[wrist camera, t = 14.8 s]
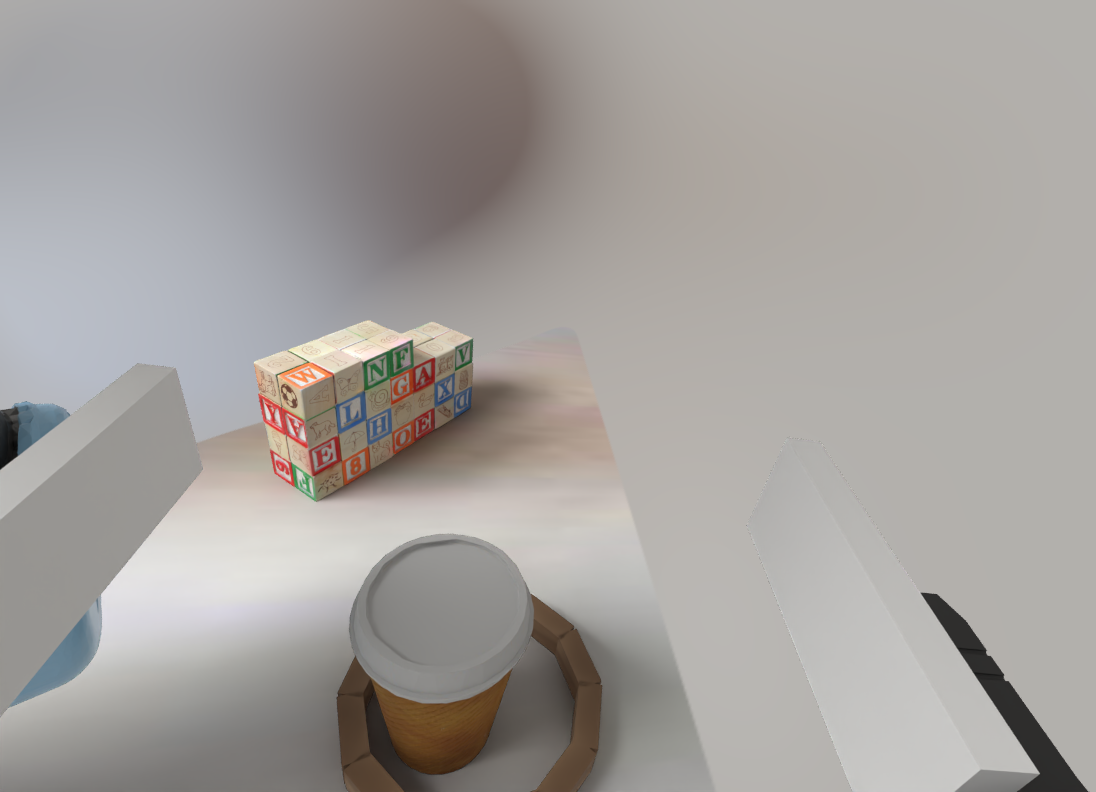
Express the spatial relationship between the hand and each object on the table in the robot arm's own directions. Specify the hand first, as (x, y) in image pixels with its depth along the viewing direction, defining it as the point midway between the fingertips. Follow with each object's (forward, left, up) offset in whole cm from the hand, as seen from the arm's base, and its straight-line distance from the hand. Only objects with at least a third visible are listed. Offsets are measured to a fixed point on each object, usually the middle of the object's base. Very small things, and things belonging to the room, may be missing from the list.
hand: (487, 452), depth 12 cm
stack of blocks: (-33, +21, -29) cm, 49 cm away
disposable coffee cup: (-7, +6, -29) cm, 30 cm away
